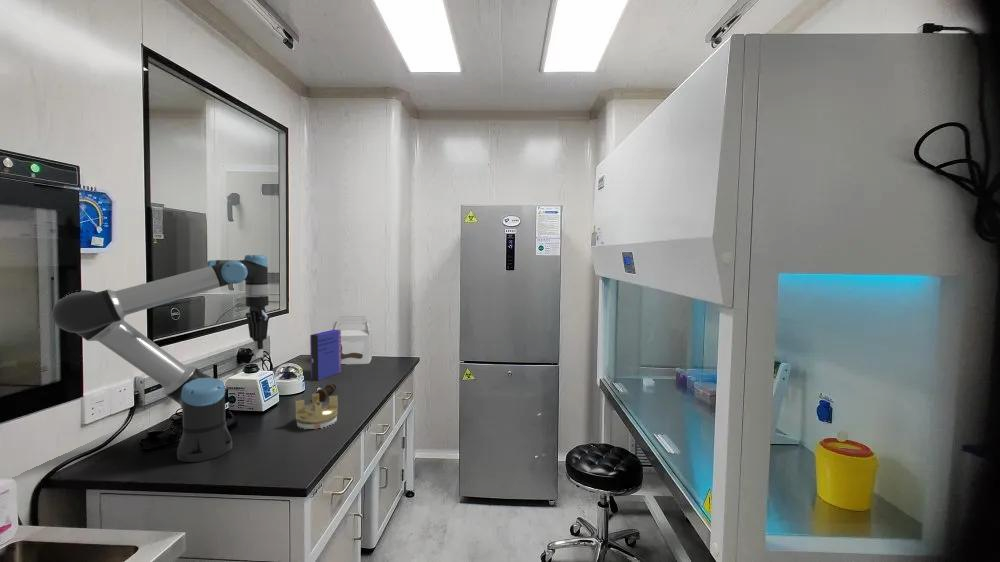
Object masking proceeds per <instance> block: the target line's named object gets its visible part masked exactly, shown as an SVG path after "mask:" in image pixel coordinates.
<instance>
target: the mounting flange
mask: <svg viewBox="0 0 1000 562" xmlns="http://www.w3.org/2000/svg"><path fill="white" fill-rule="evenodd" d="M337 421H338V416H337V417H335V418H334V419H332V420H330V421H327V422H323V423H317V424H303V423H299V422H297V421H296V426H297V428H299V427H300V428H299V429H301V428H304V429H303V430H306V429H314V430H319V429H318V428H321V429H324V428H323V427H325V428H328V427H330V426H329V425H331V426H333V425H334V424H336V423H337ZM335 422H336V423H335ZM332 424H333V425H332ZM327 426H328V427H327Z"/></svg>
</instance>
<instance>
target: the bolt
mask: <svg viewBox="0 0 1000 562" xmlns="http://www.w3.org/2000/svg"><path fill="white" fill-rule="evenodd" d="M336 390H337V385H336V384H334V383H332V384H326V385H325V386H324V389H317V390H316V392H315V393H319V402H325V401H326V400H327V398H328V397H329V395H333V394H334V393H335V391H336ZM332 393H333V394H332Z"/></svg>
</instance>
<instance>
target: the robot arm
mask: <svg viewBox="0 0 1000 562" xmlns="http://www.w3.org/2000/svg"><path fill="white" fill-rule="evenodd" d="M268 265H269V264H268V257H267V256H266V255H264V254H246V255H245V256H244V258H243V259H240V260H238V259H236V260H235V259H233V260H232V259H231V260H230V259H229V260H228V259H224V260H223V259H216V260H211V259H210V260H207V262H206V263H205V267H203V268H202V267H201V268H199V269H194V270H192V271H187V272H183V273H179V274H176V275H172V276H169V277H165V278H159V279H156V280H152V281H148V282H145V283H142V284H138V285H135V286H130V287H126V288H121V289H119V290H111V289H108V288H107V289H105V290H101V291H97V292H96V291H94V290H89V289H88V290H87V289H80V290H81V291H80V292H75V293H71V294H69V293H68V294H69V295H67V294H65V295H66V296H65V295H64V296H65V297H63V296H62V297H63V298H62V297H61V298H62V299H61V298H59V300H58V301H57V302H56V303H55V304H54V306H53V308H52V310H51V311H52V312H51V318H52V320H53V323H54V324H55V325H56V326H57V327H58V328H60V329H61V330H63V331H66V332H68V333H72V334H73V333H75V334H77V335H78V336H79V337H82V338H83V339H84V340H85V341H86V342H95V341H96V342H98V343H100V344H101V345H103V346H105V347H106V348H107V349H109V350H110V351H112V352H113V353H114V354H116V355H118V357H120V358H122V359H123V360H125V361H126V362H127V363H129V364H131V365H132V366H133V367H135V369H138V370H139V371H140V372H142V373H143V374H145V375H146V376H147V377H149V378H151V379H152V380H154V381H155V382H157V384H159V385H161V386H162V387H164V390H163V392H164V395H166V396H167V397H168V398H170V399H172V400H173V401H174V402H176V403H177V404H179V405H180V407H181V411H182V435H181V438H180V441H179V443H178V447H177V450H176V458H177V460H178V461H180V462H184V463H199V462H204V461H209V460H212V459H215V458H218V457H221V456H223V455H224V454H227V453H228V452H229V451H231V450H232V448H233V438H232V436H231V434H230V432H229V429H228V427H227V424H226V388H225V382H223V380H222V379H219V378H214V377H211V376H210V375H208V374H206V373H204V372H202V371H201V370H200V369H198V368H197V367H196V366H195V365H193V366H192V365H191V366H186V365H184V363H182V362H181V361H179V360H178V359H176V358H175V357H174V356H173V355H171V354H170V353H168V352H167V351H166V350H165V349H163V348H162V347H161V346H159V345H158V344H156V343H155V342H154V341H152V339H150V338H149V337H147V336H145V335H144V334H143V333H142V332H140V331H139V330H137V329H136V328H135V327H134V326H133V325H132V324H129V323H128V322H126V321H125V317H126V316H128V315H130V314H135V313H138V312H141V311H145V310H148V309H151V308H154V307H159V306H162V305H165V304H168V303H171V302H175V301H177V300H181V299H185V298H189V297H191V296H192V297H193V296H194V295H198V294H201V293H205V292H208V291H212V290H215V289H218V288H221V287H225V286H229V285H237V284H239V283H242V282H245V285H244V286H245V287H244V289H245V291H244V292H245V296H246V297H245V307H248V308H249V312H246V313H245V317H246V320H247V326H248V333H249V337H250V339H252V341H253V359H259V358H263V357H264V340H267V337H268V327H269V320H270V317H271V316H270V314H267V311H266V307H267V306H269V301H270V300H269V296H268V295H269V285H268V284H269V277H268V276H269V266H268Z"/></svg>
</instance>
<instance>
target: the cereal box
mask: <svg viewBox="0 0 1000 562" xmlns="http://www.w3.org/2000/svg"><path fill="white" fill-rule="evenodd" d="M309 338H310V339H309V340H310V380H311V381H314V380H316V382H320V381H322V380H325V379H327V377H328V378H330V377H329V376H331V377H333V376H335V375H334V374H336V375H338V374H337V373H339V374H341V373H342V365H341V345H342V341H341V329H338V330H333V329H331V330H330V329H329V330H326V331H322V332H318V333H313V334H310V336H309ZM340 372H341V373H340ZM332 375H333V376H332ZM324 378H325V379H324ZM321 379H322V380H321ZM319 380H320V381H319Z"/></svg>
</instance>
